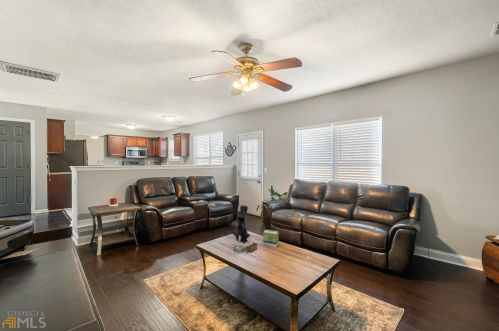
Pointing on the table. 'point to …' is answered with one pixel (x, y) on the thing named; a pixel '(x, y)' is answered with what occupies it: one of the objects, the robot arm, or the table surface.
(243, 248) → the lid
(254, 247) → the walnut box
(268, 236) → the tea box
